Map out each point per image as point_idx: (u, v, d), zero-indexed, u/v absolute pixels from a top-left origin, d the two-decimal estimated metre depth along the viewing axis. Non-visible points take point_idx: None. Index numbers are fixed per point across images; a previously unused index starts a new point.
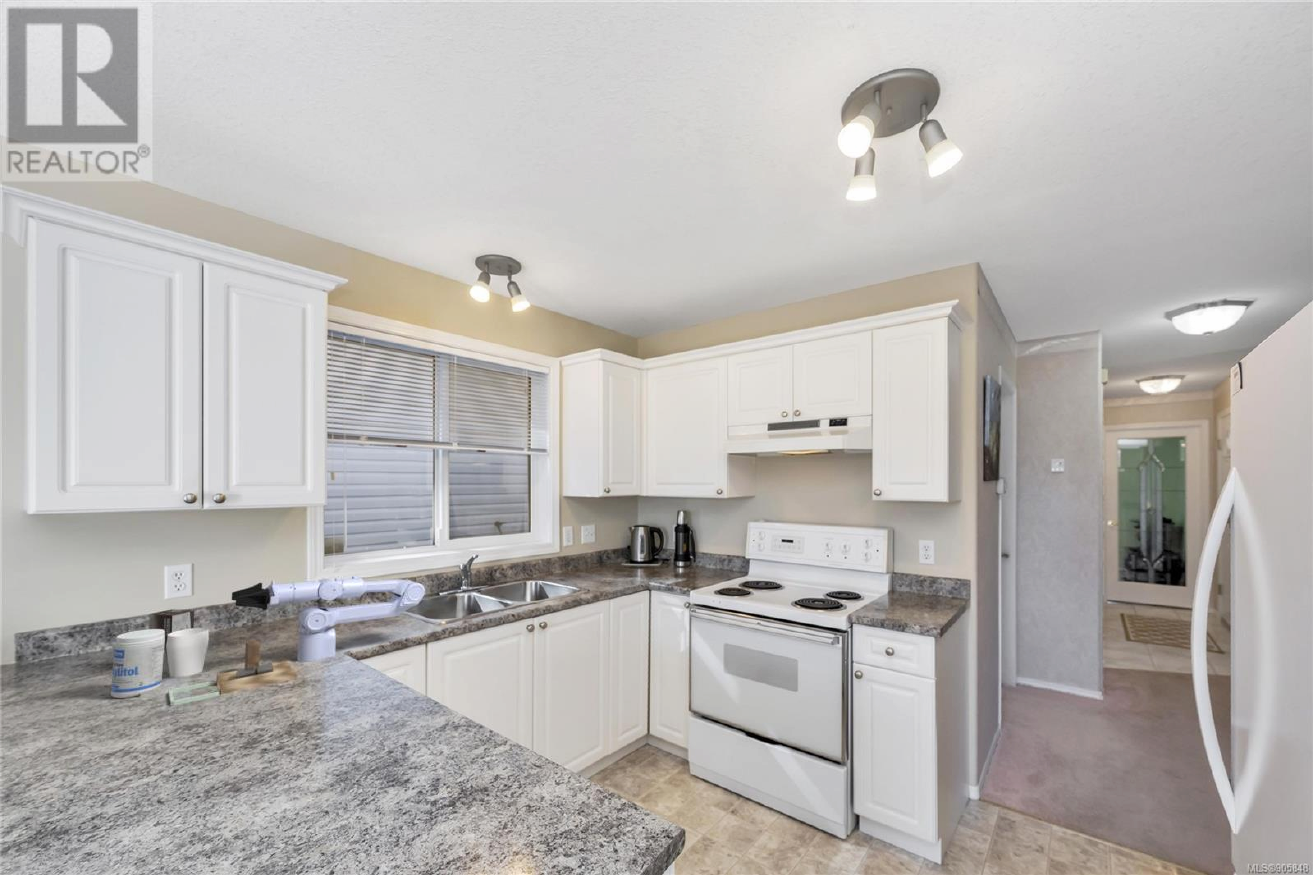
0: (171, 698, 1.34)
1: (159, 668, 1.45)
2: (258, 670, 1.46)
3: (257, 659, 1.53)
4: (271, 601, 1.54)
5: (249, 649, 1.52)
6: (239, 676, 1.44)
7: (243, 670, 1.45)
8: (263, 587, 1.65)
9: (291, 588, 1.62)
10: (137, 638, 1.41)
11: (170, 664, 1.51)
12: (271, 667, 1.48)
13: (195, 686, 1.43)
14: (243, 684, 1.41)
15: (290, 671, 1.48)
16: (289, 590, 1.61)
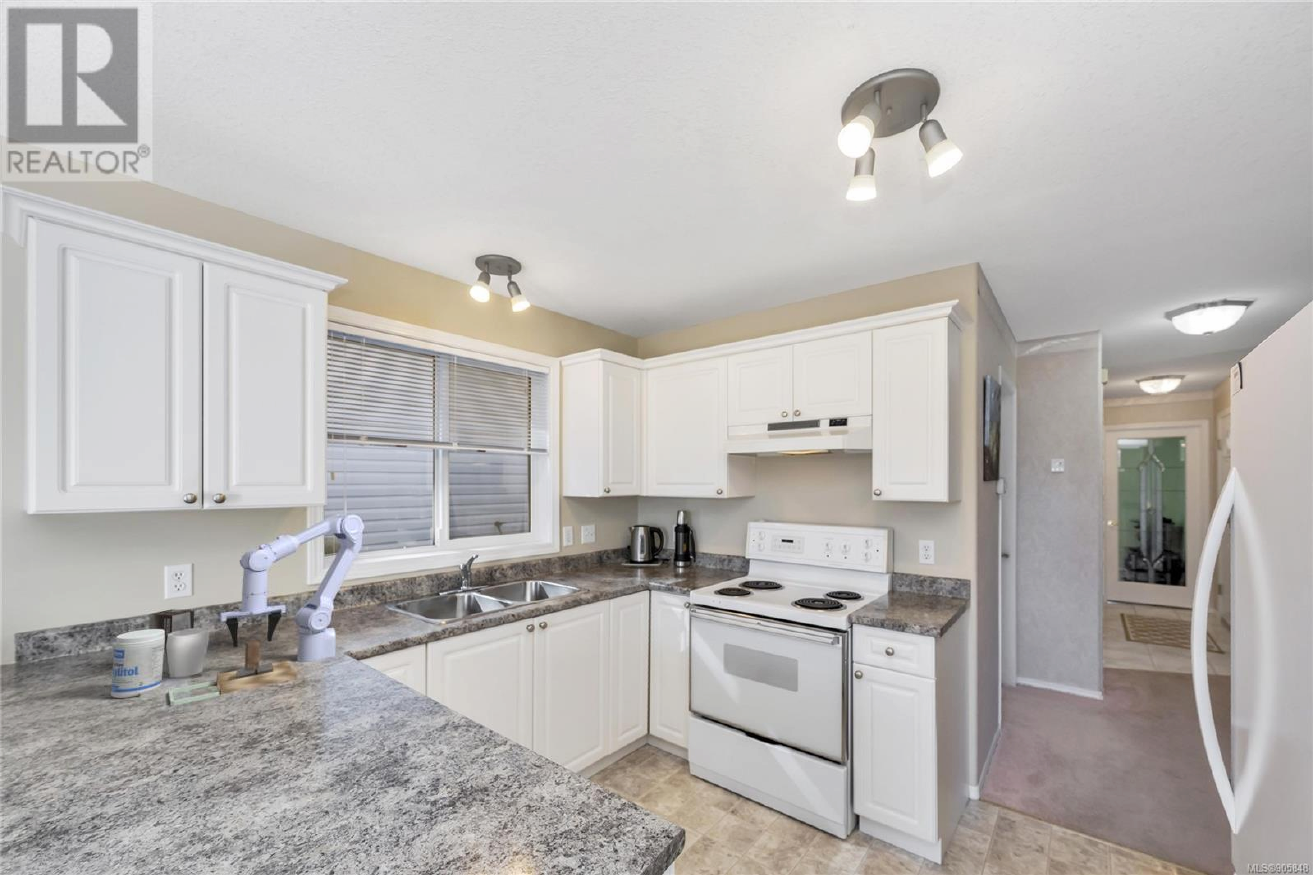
0: (171, 698, 1.34)
1: (159, 668, 1.45)
2: (258, 670, 1.46)
3: (257, 659, 1.53)
4: None
5: (249, 649, 1.52)
6: (239, 676, 1.44)
7: (243, 670, 1.45)
8: (223, 619, 1.50)
9: (265, 595, 1.56)
10: (137, 638, 1.41)
11: (170, 664, 1.51)
12: (271, 667, 1.48)
13: (195, 686, 1.43)
14: (243, 684, 1.41)
15: (290, 671, 1.48)
16: (266, 596, 1.56)
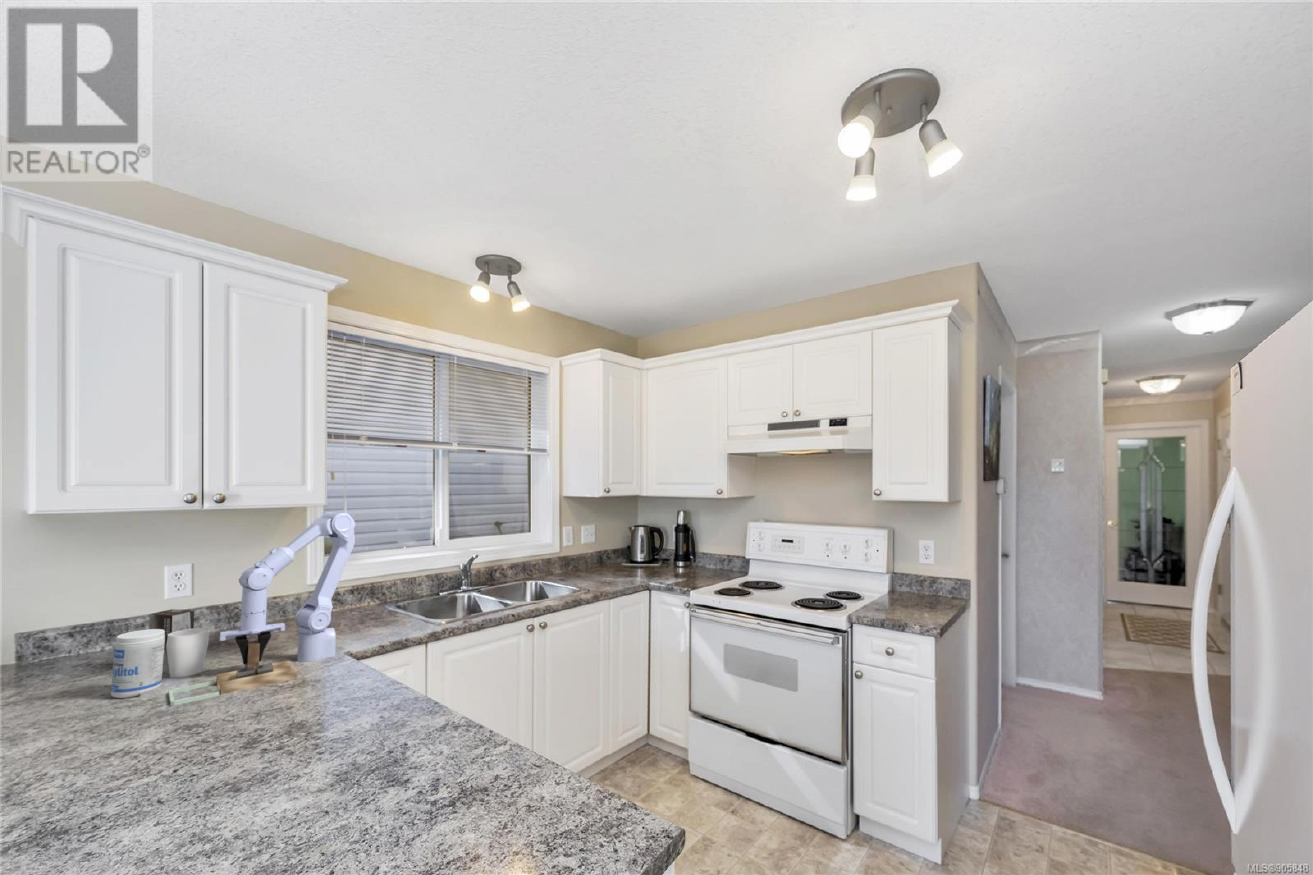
0: (171, 698, 1.34)
1: (159, 668, 1.45)
2: (258, 670, 1.46)
3: (257, 659, 1.53)
4: None
5: (249, 649, 1.52)
6: (239, 676, 1.44)
7: (243, 670, 1.45)
8: (223, 639, 1.49)
9: (264, 613, 1.55)
10: (137, 638, 1.41)
11: (170, 664, 1.51)
12: (271, 667, 1.48)
13: (195, 686, 1.43)
14: (243, 684, 1.41)
15: (290, 671, 1.48)
16: (265, 615, 1.56)
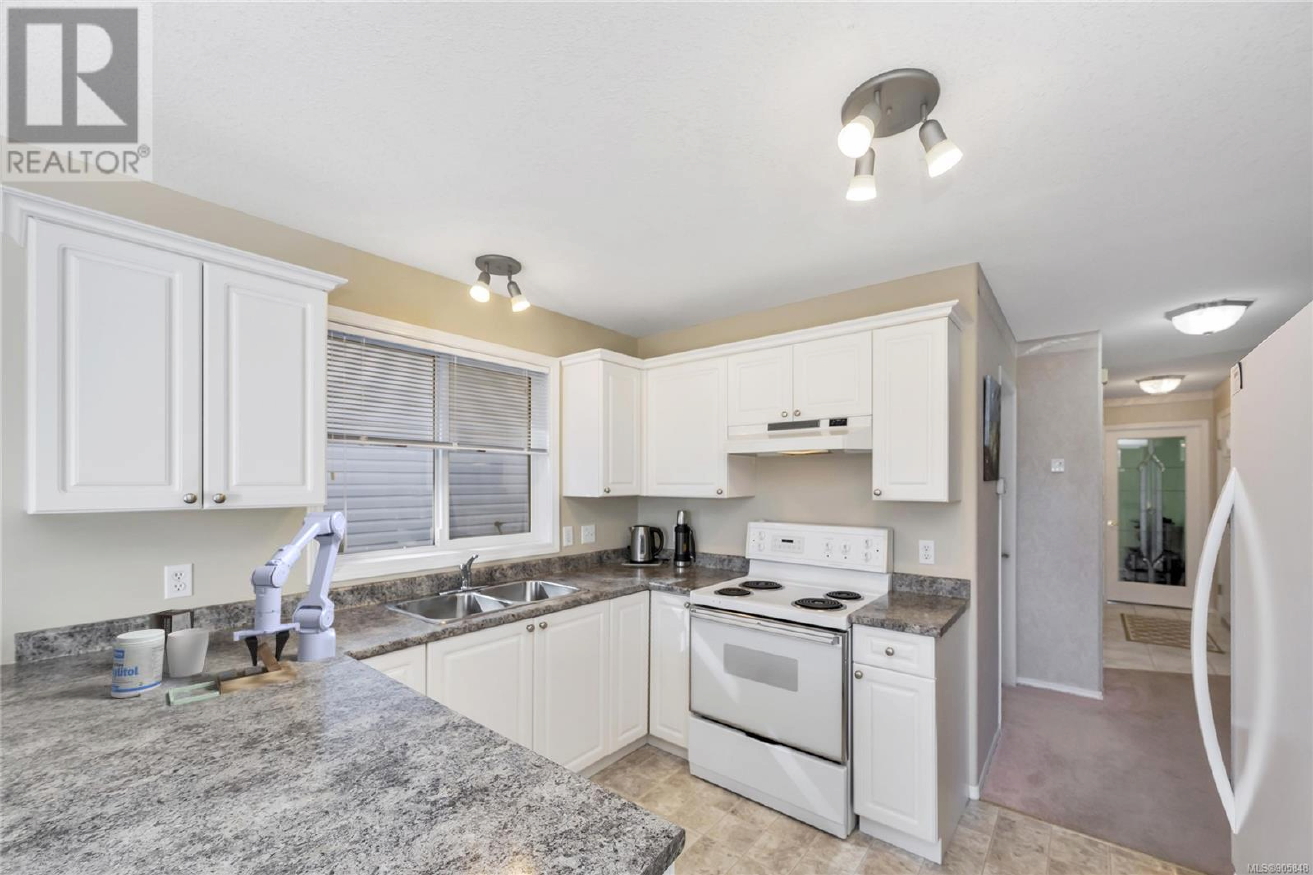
0: (171, 698, 1.34)
1: (159, 668, 1.45)
2: (246, 672, 1.45)
3: (274, 659, 1.48)
4: None
5: (260, 654, 1.46)
6: (220, 679, 1.41)
7: (224, 673, 1.43)
8: (236, 639, 1.44)
9: (278, 612, 1.50)
10: (137, 638, 1.41)
11: (170, 664, 1.51)
12: (259, 669, 1.47)
13: (195, 686, 1.43)
14: (243, 684, 1.41)
15: (290, 671, 1.48)
16: (279, 614, 1.51)
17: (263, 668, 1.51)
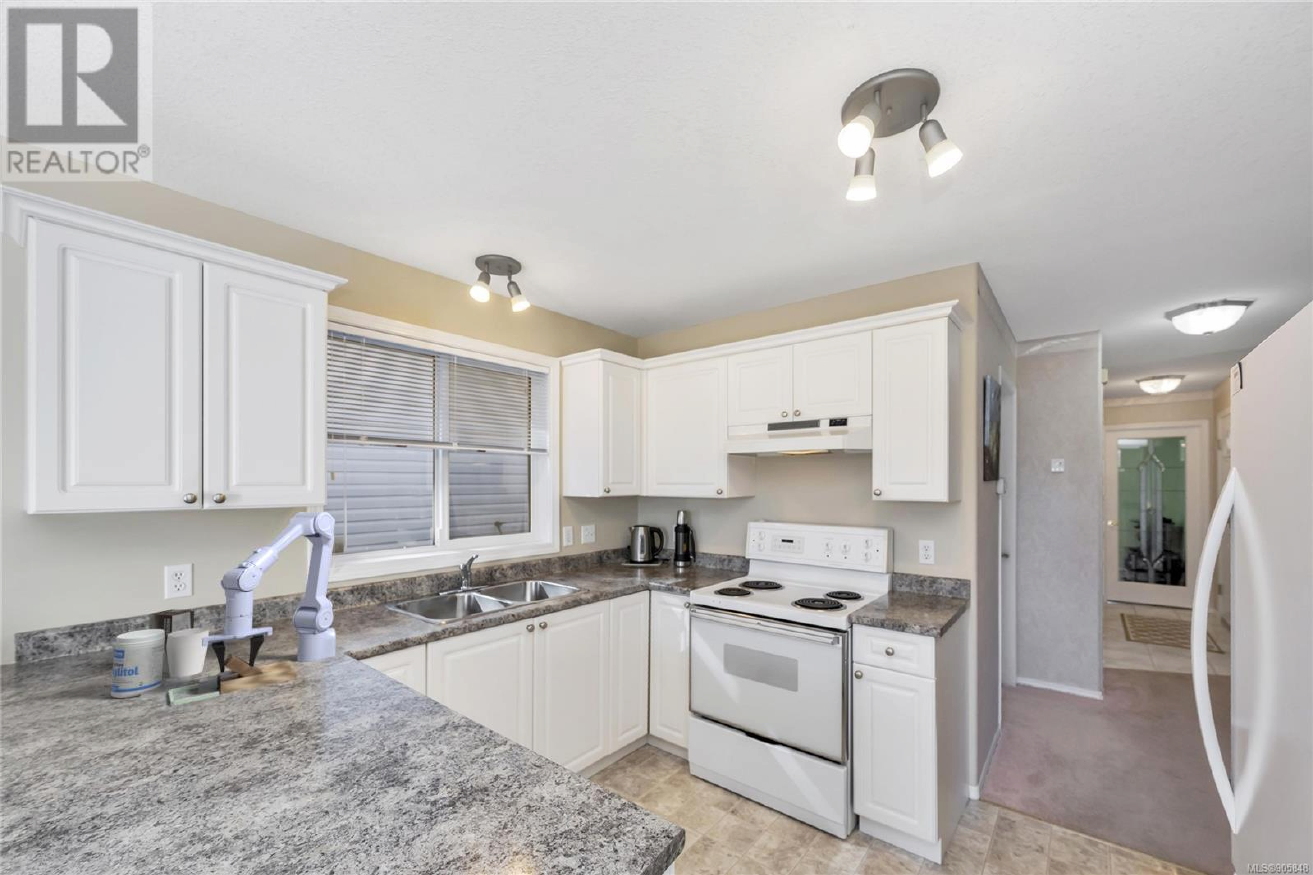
0: (171, 698, 1.34)
1: (159, 668, 1.45)
2: (221, 677, 1.41)
3: (246, 666, 1.44)
4: None
5: (229, 667, 1.42)
6: (200, 685, 1.39)
7: (205, 679, 1.41)
8: (205, 644, 1.40)
9: (250, 616, 1.46)
10: (137, 638, 1.41)
11: (170, 664, 1.51)
12: (235, 674, 1.43)
13: (195, 686, 1.43)
14: (243, 684, 1.41)
15: (290, 671, 1.48)
16: (251, 618, 1.46)
17: (263, 668, 1.51)
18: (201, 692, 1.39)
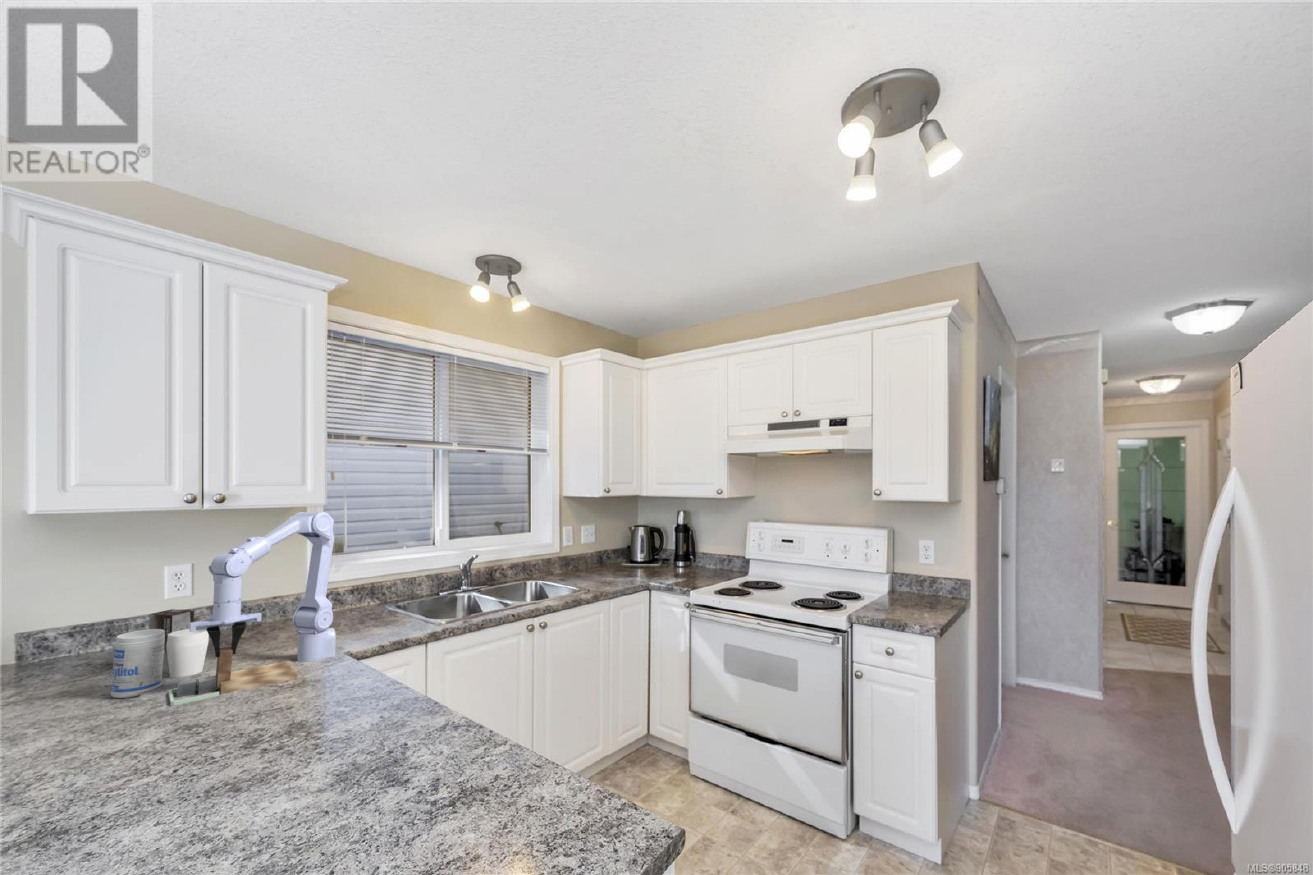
0: (171, 698, 1.34)
1: (159, 668, 1.45)
2: (199, 683, 1.39)
3: (229, 667, 1.42)
4: None
5: (221, 656, 1.41)
6: (178, 688, 1.37)
7: (184, 682, 1.39)
8: (193, 630, 1.38)
9: (238, 602, 1.44)
10: (137, 638, 1.41)
11: (170, 664, 1.51)
12: (214, 680, 1.41)
13: None
14: (243, 684, 1.41)
15: (290, 671, 1.48)
16: (240, 604, 1.45)
17: (263, 668, 1.51)
18: (179, 695, 1.37)
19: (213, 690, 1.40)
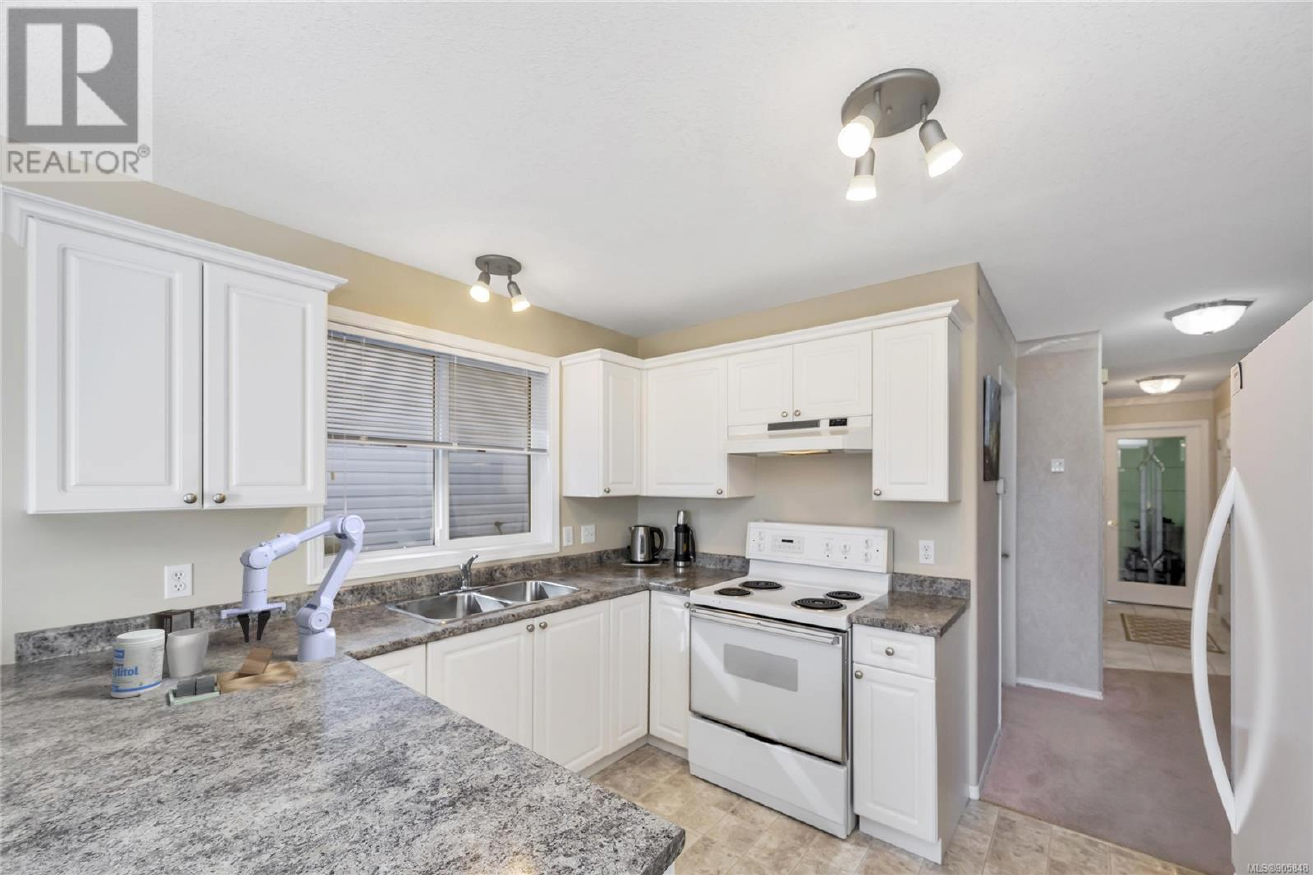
0: (171, 698, 1.34)
1: (159, 668, 1.45)
2: (198, 684, 1.38)
3: (266, 666, 1.51)
4: None
5: (271, 652, 1.53)
6: (178, 689, 1.37)
7: (184, 682, 1.39)
8: (224, 617, 1.50)
9: (265, 592, 1.56)
10: (137, 638, 1.41)
11: (170, 664, 1.51)
12: (212, 681, 1.40)
13: None
14: (243, 684, 1.41)
15: (290, 671, 1.48)
16: (266, 593, 1.56)
17: None
18: (179, 695, 1.37)
19: (211, 691, 1.40)
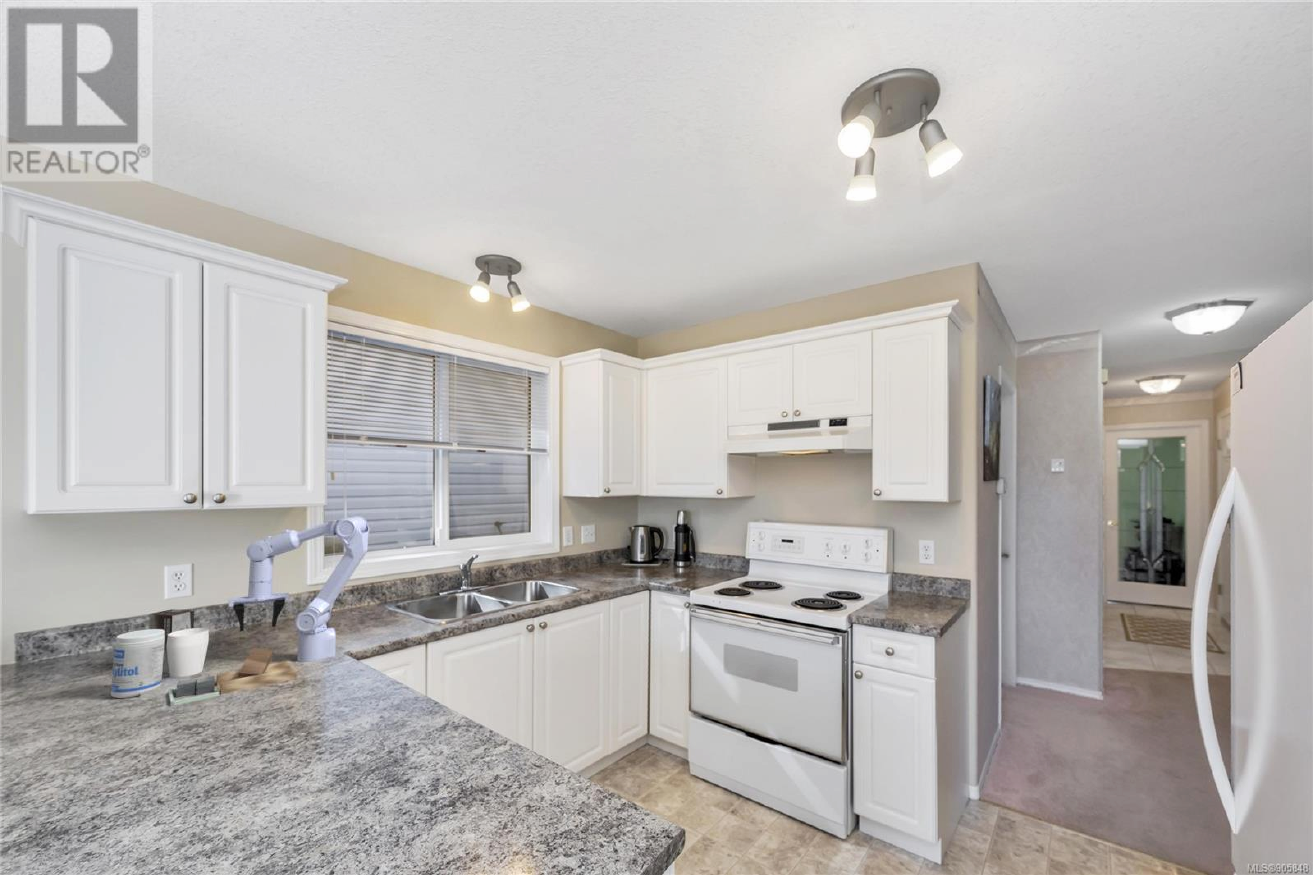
0: (171, 698, 1.34)
1: (159, 668, 1.45)
2: (198, 684, 1.38)
3: (267, 666, 1.51)
4: None
5: (272, 653, 1.53)
6: (178, 689, 1.37)
7: (184, 682, 1.39)
8: (231, 605, 1.60)
9: (270, 583, 1.66)
10: (137, 638, 1.41)
11: (170, 664, 1.51)
12: (212, 681, 1.40)
13: None
14: (243, 684, 1.41)
15: (290, 671, 1.48)
16: (271, 584, 1.66)
17: None
18: (179, 695, 1.37)
19: (211, 691, 1.40)
